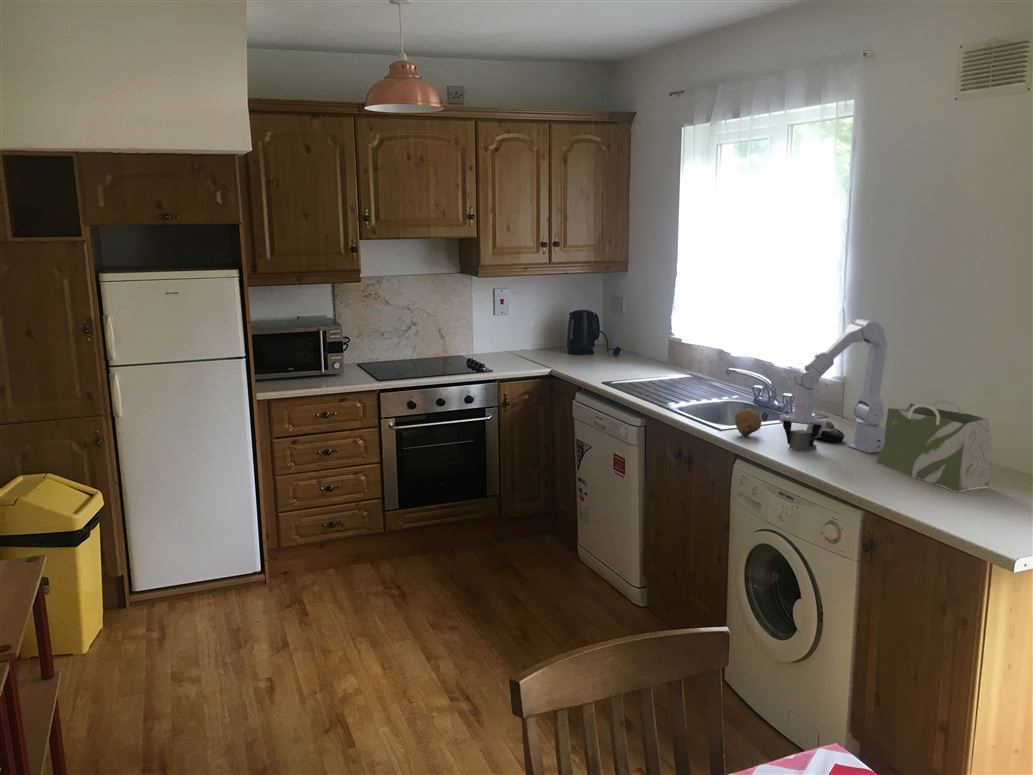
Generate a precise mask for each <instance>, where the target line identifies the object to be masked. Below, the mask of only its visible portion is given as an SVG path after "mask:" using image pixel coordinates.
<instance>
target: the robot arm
mask: <svg viewBox="0 0 1033 775" xmlns="http://www.w3.org/2000/svg"><path fill="white" fill-rule="evenodd" d="M861 342H863V343H864V344H865V345H866V346H867V347H868V353H867V360H866V366H865V374H864V380H863V385H862V386H863V387H862V393H861V394H860V395H859V396H858V397H857V401H856V403H855V405H854V407H853V411H852V412H853V414H854V416H855V418H856V420H855V429H854V439H853V443H851V444H850V443H849V444H847V447H848V448H849V447H850V448H852V449H855V450H858V451H861V452H864V453H867V454H871V453H873V454H874V453H880V452H881V450H882V448H883V446H884V442H885V430H886V428H884V427H882V426H881V425H880V424H881V423H882V422H883V420H884V418H885V411H884V402H883V400H882V398H881V390H882V389H881V388H882V384H883V383H882V382H883V376H884V370H885V362H886V356H887V349H888V341H887V338H886V335H885V328H884V327H883V325H881V324H880V323H879V322H878V321H876V320H869V319H865V318H863V317H856V318H855V319H854V320H853V321H852V322H851V323H849V324H848V325H847V327H846V328H845V331H844V332H843V333H842V334H841V335H840V336H838V338H837V339H836V340H835V341H834V343H833V344H832V345H831V346H830V347H829V348H828V350H826V351H825V352H824V351H823V352H819V353H816V354H815V355H814V358H813V359H812V360H811V361H810V362H809V363H808V364H806V365H804V368H801V369H799V370H798V371H797V372H796V373H795V375H794V376H793V380H794V382H795V384H796V388H795V389H796V390H795V397H794V398H795V399H794V400H795V401H794V411H793V415H783V414H782V415H781V414H780V415H779V423H782V427H783V430H784V432H785V436H786V440H787V445H790V434H791V431H792V427H793V426H792V424H800V425H807V426H808V425H813V427H812V438H811V444H810V447H813V444H814V442H815V439H816V435H817V434H818V432H819V430H820V428H821V426H822V427H825V424H826V419H820V418H815V417H814V418H812V416H813V409H814V399H815V388H816V386H818V385H819V383H820V379H821V378H822V377H823V375H824V374H826V372H827V371H828V370H830V369H831V368H832V367H833V366H834V364H835V361H834V360H835V358H836V357H838V356H839V355H840V354H842V353H843V352H844V351H845V350H846V349H848V348H849V347H850V346H851V345H852V344H854V343H861Z"/></svg>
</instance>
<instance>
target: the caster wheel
mask: <svg viewBox="0 0 1033 775" xmlns="http://www.w3.org/2000/svg"><path fill="white" fill-rule="evenodd" d="M812 418H815V417H814V415H812ZM825 420H826V419H825ZM812 427H813V425H807V427H806V430H805V431H808V432H811V433H812ZM816 437H818V438H820V439H821V438H822V439H823V440H825V441H827V442H830V443H834V444H841V443H843V441H844V438H845V433H843V432H842V431H841V430H839V429H837V428H836V427H835V425H834V423H833V422H831V421H830V420H826V424H825V427H822V426H821V428H820V430H819V432H818V434H817V435H816ZM816 437H815V438H816ZM811 439H812V437H811Z"/></svg>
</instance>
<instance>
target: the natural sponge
mask: <svg viewBox="0 0 1033 775" xmlns="http://www.w3.org/2000/svg"><path fill="white" fill-rule="evenodd" d="M734 422H735V426H736V428H737V431H738V432H739V434H740V435H741V436H743V435H744V436H743V437H748V436H750V435H751V434H753V433H755V432H757V431H759V430H760V429H761V427H762V421H761V419H760V416H759V414H758V412H756V411H755V409H752V408H750V407H748V408H743V409H740V410H739V411H737V412H736V413H735V415H734Z"/></svg>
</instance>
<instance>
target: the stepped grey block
mask: <svg viewBox="0 0 1033 775" xmlns="http://www.w3.org/2000/svg"><path fill="white" fill-rule="evenodd" d="M811 437H812V433H811V432H808V431H806V430H805V429H794V430H791V434H790V444H788V445H789V449H791V448H792V449H791V450H793V449H794V451H796V450H797V451H796V452H804V451H805V450H807V451H813V450H814V449H815V450H817V444H814V443H813V447H810V444H811V439H812V438H811ZM805 452H806V451H805Z"/></svg>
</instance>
